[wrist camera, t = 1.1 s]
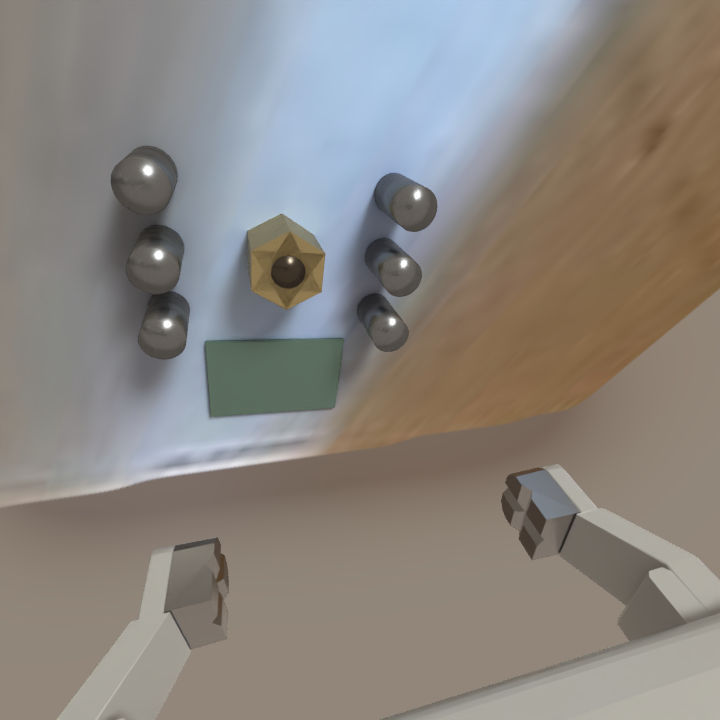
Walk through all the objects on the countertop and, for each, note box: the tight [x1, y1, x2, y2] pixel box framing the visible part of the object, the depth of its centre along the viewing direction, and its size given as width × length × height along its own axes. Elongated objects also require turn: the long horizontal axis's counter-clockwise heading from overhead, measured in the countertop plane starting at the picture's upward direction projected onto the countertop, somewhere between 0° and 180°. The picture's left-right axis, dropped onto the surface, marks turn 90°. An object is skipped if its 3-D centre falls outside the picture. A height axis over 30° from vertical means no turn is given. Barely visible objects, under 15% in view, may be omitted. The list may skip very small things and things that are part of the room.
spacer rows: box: [111, 146, 437, 359], centre depth 30 cm, size 20×13×5 cm, turn 83°
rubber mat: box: [205, 338, 344, 417], centre depth 38 cm, size 12×8×1 cm, turn 83°
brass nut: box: [248, 214, 325, 310], centre depth 31 cm, size 5×6×5 cm
